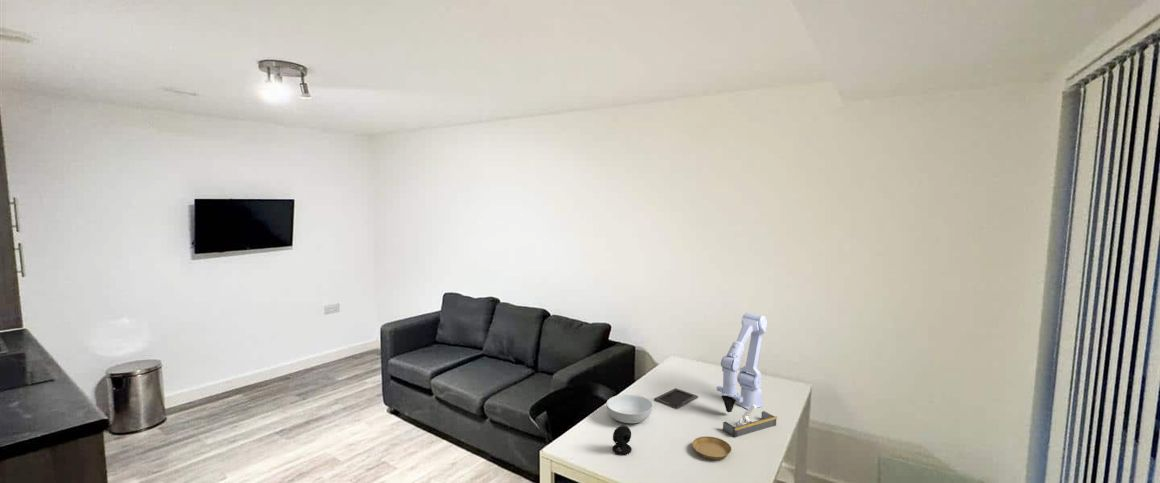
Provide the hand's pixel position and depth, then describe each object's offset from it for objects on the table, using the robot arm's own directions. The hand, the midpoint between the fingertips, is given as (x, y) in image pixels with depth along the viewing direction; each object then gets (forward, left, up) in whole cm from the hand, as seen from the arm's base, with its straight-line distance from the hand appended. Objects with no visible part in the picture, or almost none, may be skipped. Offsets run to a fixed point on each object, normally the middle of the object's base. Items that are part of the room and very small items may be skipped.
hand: (729, 411), depth 210 cm
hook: (0, +11, -2) cm, 11 cm away
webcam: (+59, +4, -2) cm, 59 cm away
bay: (0, +13, -2) cm, 13 cm away
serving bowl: (+42, -18, -2) cm, 46 cm away
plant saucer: (+28, +20, -2) cm, 35 cm away
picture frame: (+11, -25, -3) cm, 27 cm away
